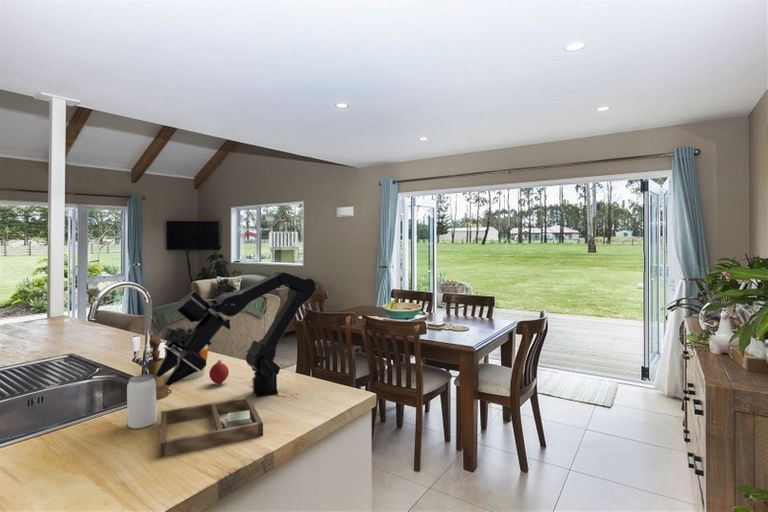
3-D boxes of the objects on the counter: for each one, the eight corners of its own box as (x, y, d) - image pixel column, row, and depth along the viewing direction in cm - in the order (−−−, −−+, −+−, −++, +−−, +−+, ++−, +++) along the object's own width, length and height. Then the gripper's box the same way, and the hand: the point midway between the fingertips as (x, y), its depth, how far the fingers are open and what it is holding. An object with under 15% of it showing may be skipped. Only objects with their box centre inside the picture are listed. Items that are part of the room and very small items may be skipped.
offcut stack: (249, 423, 109) (249, 408, 109) (254, 433, 103) (254, 417, 103) (221, 428, 106) (220, 413, 105) (224, 439, 100) (223, 423, 100)
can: (147, 416, 113) (146, 372, 112) (162, 421, 110) (161, 376, 109) (122, 426, 107) (121, 379, 107) (137, 431, 104) (136, 383, 103)
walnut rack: (249, 407, 119) (249, 396, 119) (263, 435, 102) (262, 423, 102) (161, 422, 109) (161, 411, 109) (160, 456, 92) (160, 443, 92)
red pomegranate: (222, 388, 134) (221, 363, 134) (205, 386, 135) (205, 362, 135) (232, 381, 140) (231, 358, 139) (216, 380, 141) (216, 357, 140)
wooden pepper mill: (173, 393, 129) (172, 335, 128) (155, 401, 123) (154, 340, 122) (157, 390, 131) (155, 333, 131) (138, 398, 125) (137, 338, 125)
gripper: (171, 310, 121) (128, 355, 114) (192, 320, 107) (144, 372, 100) (200, 333, 126) (161, 377, 120) (224, 345, 112) (181, 396, 106)
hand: (161, 380), depth 111 cm, fingers open, 9 cm apart
